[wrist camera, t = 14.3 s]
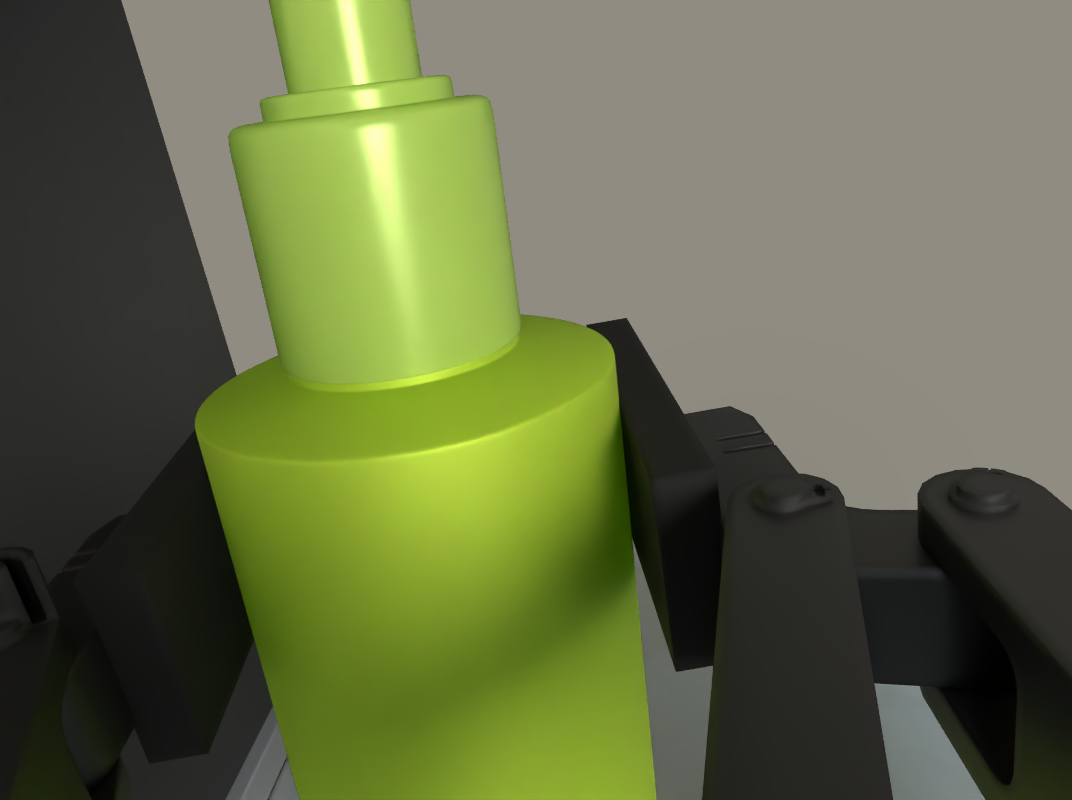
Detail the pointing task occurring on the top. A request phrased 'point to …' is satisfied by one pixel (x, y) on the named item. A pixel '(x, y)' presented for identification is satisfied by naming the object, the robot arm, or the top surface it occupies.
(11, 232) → the coffee maker
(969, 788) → the top surface
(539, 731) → the soap dispenser
